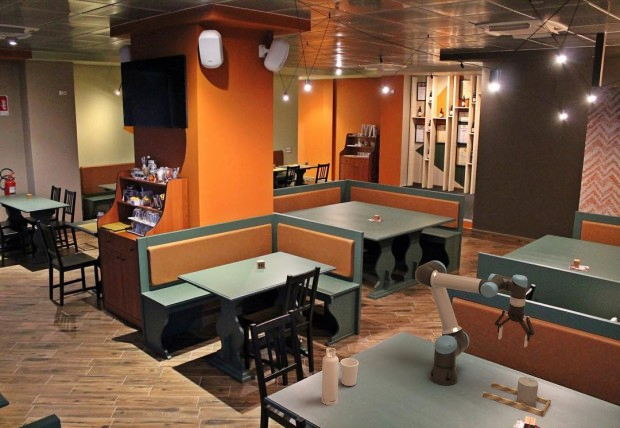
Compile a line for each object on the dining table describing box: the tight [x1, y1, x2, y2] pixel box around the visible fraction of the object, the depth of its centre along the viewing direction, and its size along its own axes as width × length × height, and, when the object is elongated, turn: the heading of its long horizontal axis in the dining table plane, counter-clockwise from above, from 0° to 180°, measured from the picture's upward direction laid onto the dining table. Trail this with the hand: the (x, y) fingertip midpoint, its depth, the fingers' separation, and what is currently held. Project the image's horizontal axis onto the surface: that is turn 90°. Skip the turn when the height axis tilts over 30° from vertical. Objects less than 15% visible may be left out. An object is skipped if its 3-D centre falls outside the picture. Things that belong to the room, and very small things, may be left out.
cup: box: [339, 357, 360, 388], centre depth 293 cm, size 10×10×13 cm
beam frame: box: [482, 381, 552, 418], centre depth 279 cm, size 30×14×3 cm, turn 53°
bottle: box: [321, 347, 340, 406], centre depth 273 cm, size 8×8×28 cm
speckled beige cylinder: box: [515, 376, 539, 408], centre depth 276 cm, size 10×10×12 cm
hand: (512, 342), depth 287 cm, fingers open, 13 cm apart
